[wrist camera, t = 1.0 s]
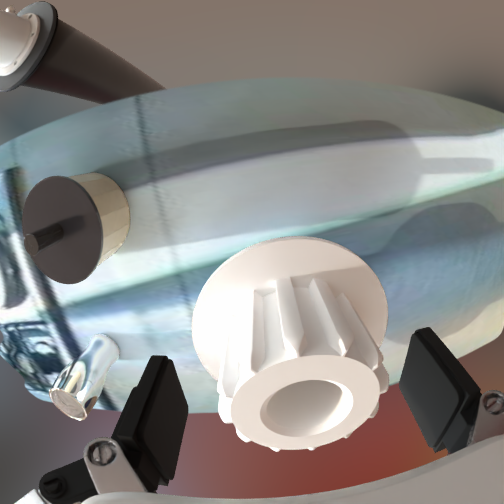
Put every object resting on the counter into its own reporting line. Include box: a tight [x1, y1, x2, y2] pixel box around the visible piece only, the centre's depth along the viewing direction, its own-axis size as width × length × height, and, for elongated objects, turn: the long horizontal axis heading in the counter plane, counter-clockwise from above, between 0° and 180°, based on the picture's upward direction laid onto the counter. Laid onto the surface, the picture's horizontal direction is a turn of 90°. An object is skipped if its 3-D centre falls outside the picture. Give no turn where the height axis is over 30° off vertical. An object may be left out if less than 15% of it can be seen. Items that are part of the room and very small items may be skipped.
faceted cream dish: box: [69, 173, 130, 266], centre depth 32 cm, size 12×12×8 cm
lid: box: [22, 176, 103, 284], centre depth 26 cm, size 13×13×6 cm
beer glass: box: [49, 334, 120, 420], centre depth 37 cm, size 7×7×15 cm
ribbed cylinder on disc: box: [192, 236, 389, 452], centre depth 32 cm, size 25×25×19 cm
